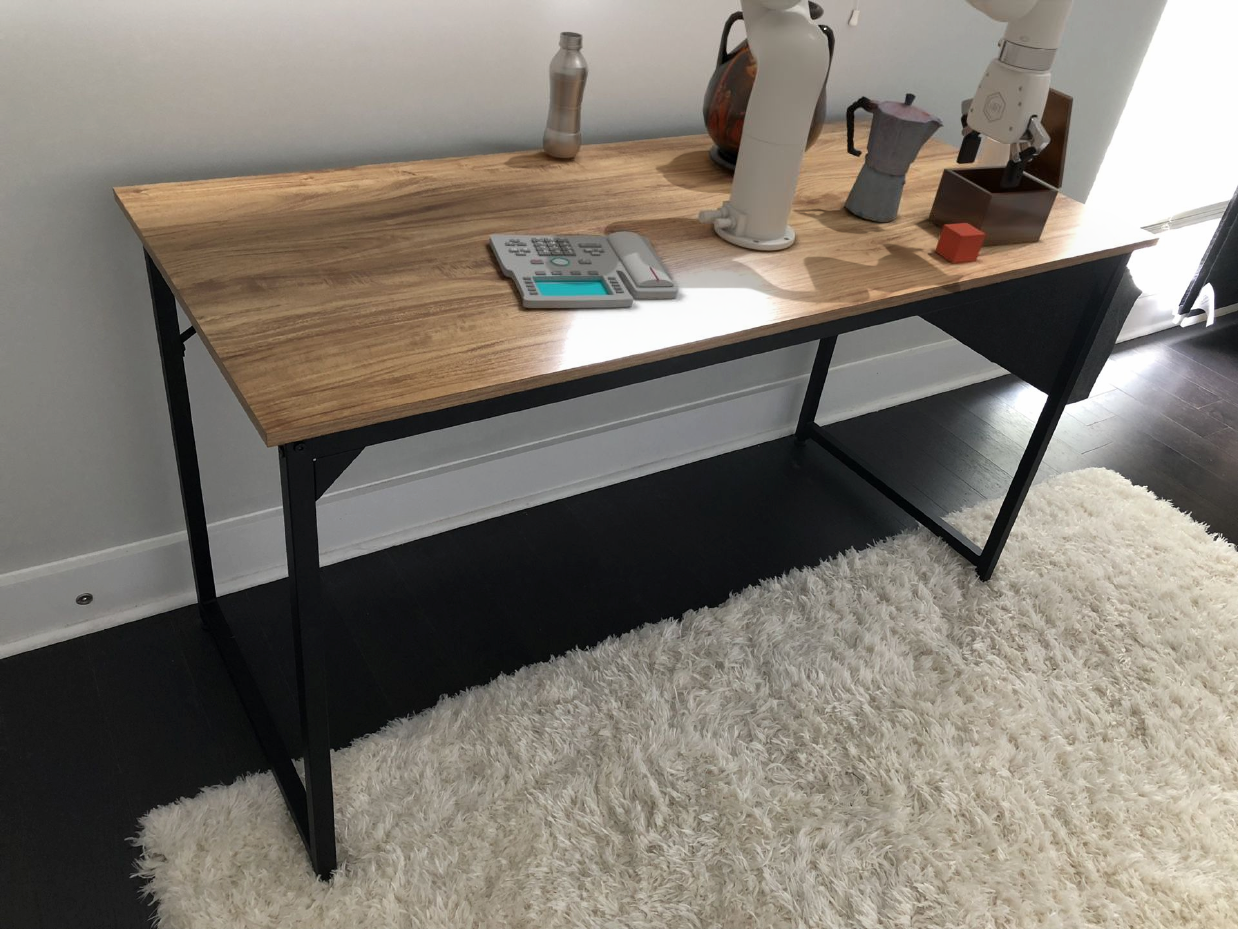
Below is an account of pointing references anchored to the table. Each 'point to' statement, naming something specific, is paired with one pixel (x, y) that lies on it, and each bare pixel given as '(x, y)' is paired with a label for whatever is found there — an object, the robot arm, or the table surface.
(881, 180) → the moka pot
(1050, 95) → the lid
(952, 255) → the block
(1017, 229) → the box
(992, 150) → the white cup
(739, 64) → the amphora vase
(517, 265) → the office telephone
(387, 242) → the table surface
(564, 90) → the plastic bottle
